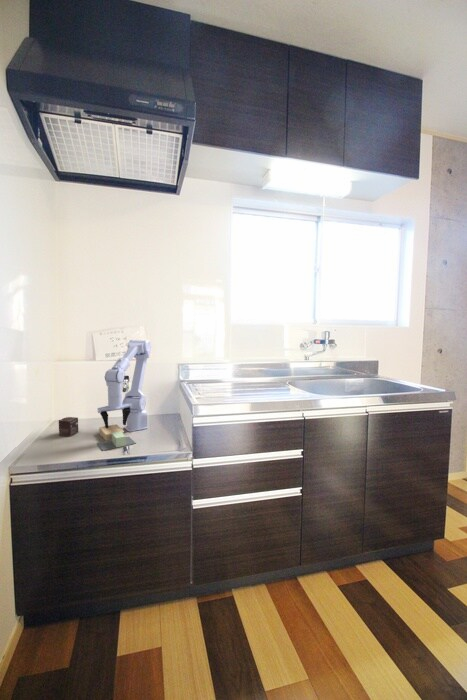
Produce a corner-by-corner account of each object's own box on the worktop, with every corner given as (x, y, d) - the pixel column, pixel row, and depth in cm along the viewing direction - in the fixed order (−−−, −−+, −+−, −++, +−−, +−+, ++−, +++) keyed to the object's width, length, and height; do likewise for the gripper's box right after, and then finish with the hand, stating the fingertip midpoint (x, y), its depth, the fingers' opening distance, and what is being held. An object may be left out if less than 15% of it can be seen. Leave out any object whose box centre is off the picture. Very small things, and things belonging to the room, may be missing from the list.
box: (70, 436, 152) (69, 421, 152) (58, 435, 153) (58, 420, 153) (78, 432, 158) (78, 417, 157) (67, 431, 159) (67, 416, 159)
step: (116, 430, 162) (116, 424, 161) (124, 437, 152) (124, 431, 151) (99, 433, 157) (99, 427, 157) (106, 441, 147) (105, 434, 147)
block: (120, 430, 148) (125, 436, 141) (121, 439, 149) (125, 445, 142) (111, 432, 146) (116, 438, 139) (111, 441, 146) (116, 447, 140)
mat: (129, 437, 152) (129, 436, 152) (136, 443, 145) (136, 443, 145) (96, 443, 144) (96, 442, 144) (102, 450, 137) (102, 450, 137)
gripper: (99, 400, 139) (100, 431, 141) (134, 395, 148) (134, 425, 149) (95, 396, 145) (96, 427, 146) (129, 392, 153) (129, 421, 155)
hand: (115, 426), depth 148 cm, fingers open, 7 cm apart
